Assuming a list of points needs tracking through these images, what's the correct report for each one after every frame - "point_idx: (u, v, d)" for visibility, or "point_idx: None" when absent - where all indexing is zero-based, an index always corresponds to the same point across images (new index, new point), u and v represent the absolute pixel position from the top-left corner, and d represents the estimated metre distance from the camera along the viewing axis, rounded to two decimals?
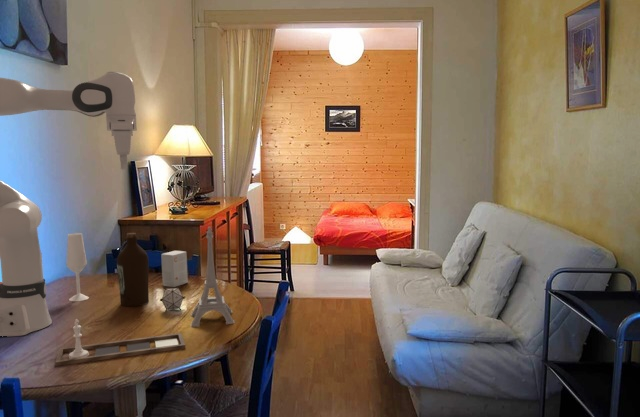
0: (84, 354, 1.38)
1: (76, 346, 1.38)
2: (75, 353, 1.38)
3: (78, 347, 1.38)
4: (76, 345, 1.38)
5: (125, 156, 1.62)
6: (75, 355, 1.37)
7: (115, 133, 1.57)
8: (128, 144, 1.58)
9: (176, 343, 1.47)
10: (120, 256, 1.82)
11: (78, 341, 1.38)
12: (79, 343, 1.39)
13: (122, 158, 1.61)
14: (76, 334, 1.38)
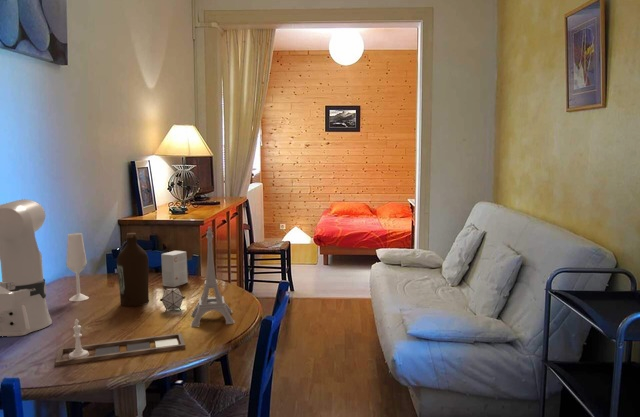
0: (84, 354, 1.38)
1: (76, 346, 1.38)
2: (75, 353, 1.38)
3: (78, 347, 1.38)
4: (76, 345, 1.38)
5: None
6: (75, 355, 1.37)
7: None
8: (0, 296, 1.15)
9: (176, 343, 1.47)
10: (120, 256, 1.82)
11: (78, 341, 1.38)
12: (79, 343, 1.39)
13: (15, 298, 1.21)
14: (76, 334, 1.38)
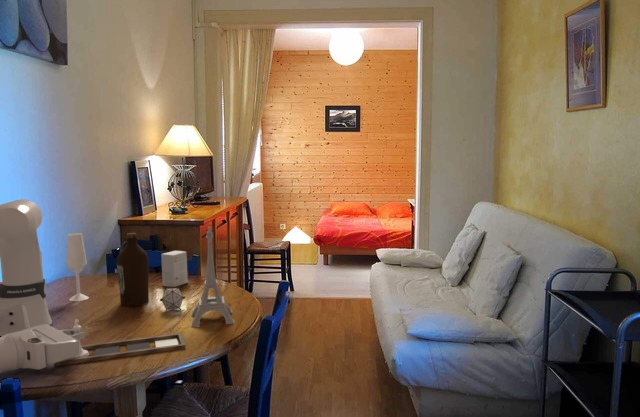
0: (84, 354, 1.38)
1: None
2: None
3: None
4: None
5: None
6: None
7: (52, 361, 1.25)
8: (66, 344, 1.27)
9: (176, 343, 1.47)
10: (120, 256, 1.82)
11: (78, 341, 1.38)
12: (79, 343, 1.39)
13: None
14: None
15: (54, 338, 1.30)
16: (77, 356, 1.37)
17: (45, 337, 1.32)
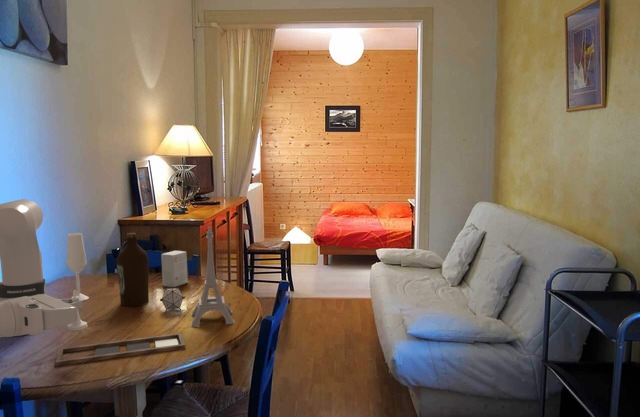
0: (83, 325, 1.37)
1: None
2: (73, 324, 1.37)
3: None
4: None
5: None
6: (73, 326, 1.36)
7: (50, 327, 1.24)
8: (64, 310, 1.26)
9: (176, 343, 1.47)
10: (120, 256, 1.82)
11: None
12: (77, 314, 1.37)
13: None
14: None
15: (52, 305, 1.29)
16: (76, 327, 1.36)
17: (43, 305, 1.31)
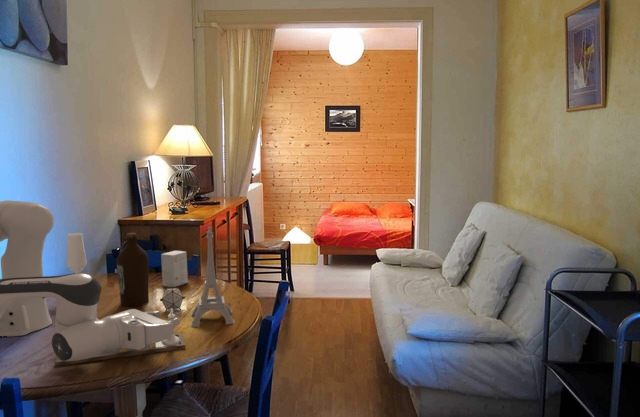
0: (176, 341, 1.45)
1: None
2: (168, 340, 1.44)
3: None
4: None
5: None
6: (168, 342, 1.44)
7: (150, 342, 1.33)
8: (163, 326, 1.34)
9: None
10: (120, 256, 1.82)
11: None
12: None
13: None
14: None
15: (149, 321, 1.38)
16: (171, 343, 1.44)
17: (139, 320, 1.40)
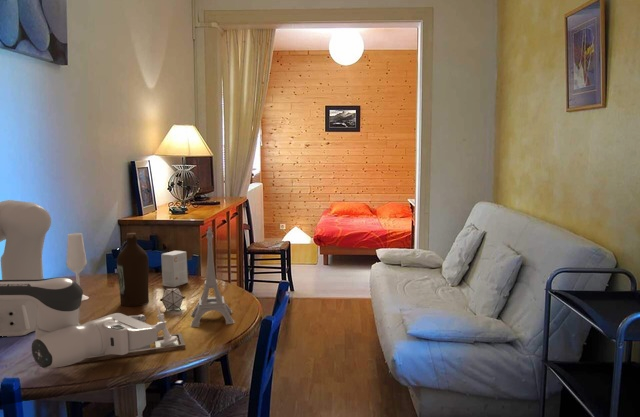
0: (175, 337, 1.46)
1: (164, 333, 1.45)
2: (166, 339, 1.45)
3: (167, 333, 1.45)
4: (165, 332, 1.45)
5: None
6: (167, 340, 1.44)
7: (134, 347, 1.29)
8: (147, 331, 1.31)
9: (176, 343, 1.47)
10: (120, 256, 1.82)
11: (165, 328, 1.46)
12: (167, 329, 1.46)
13: None
14: (162, 321, 1.45)
15: (133, 325, 1.34)
16: (170, 340, 1.44)
17: (123, 324, 1.36)
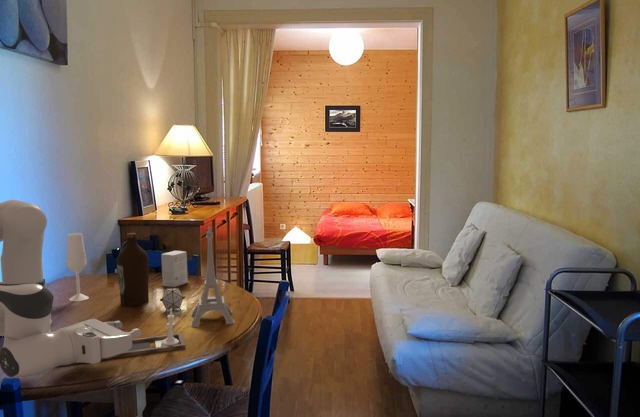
0: (177, 341, 1.46)
1: (169, 334, 1.45)
2: (169, 341, 1.45)
3: (171, 335, 1.46)
4: (170, 333, 1.45)
5: None
6: (171, 343, 1.45)
7: (107, 356, 1.24)
8: (121, 338, 1.26)
9: None
10: (120, 256, 1.82)
11: (172, 329, 1.46)
12: (172, 331, 1.46)
13: None
14: (170, 323, 1.45)
15: (107, 332, 1.29)
16: (173, 344, 1.45)
17: (97, 331, 1.31)
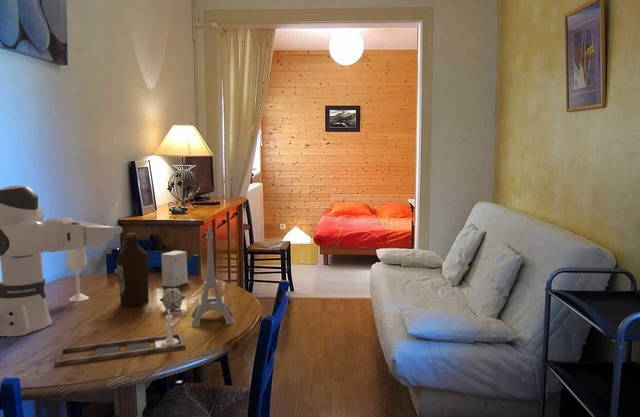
0: (177, 341, 1.46)
1: (169, 335, 1.45)
2: (169, 341, 1.45)
3: (171, 336, 1.46)
4: (169, 334, 1.45)
5: None
6: (171, 343, 1.45)
7: (90, 243, 1.37)
8: (103, 228, 1.38)
9: None
10: (120, 256, 1.82)
11: (171, 330, 1.46)
12: (171, 332, 1.46)
13: None
14: (169, 323, 1.45)
15: None
16: (173, 344, 1.45)
17: None
